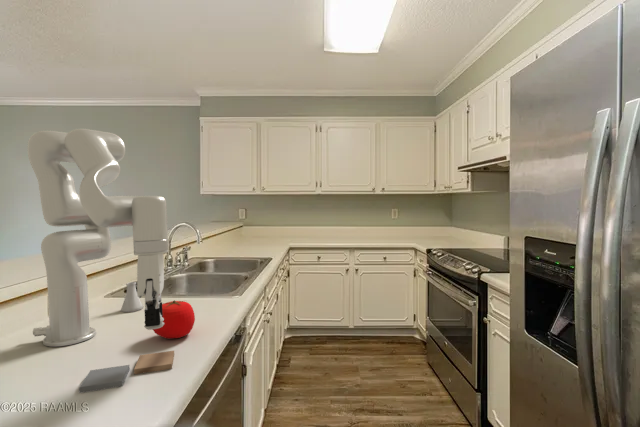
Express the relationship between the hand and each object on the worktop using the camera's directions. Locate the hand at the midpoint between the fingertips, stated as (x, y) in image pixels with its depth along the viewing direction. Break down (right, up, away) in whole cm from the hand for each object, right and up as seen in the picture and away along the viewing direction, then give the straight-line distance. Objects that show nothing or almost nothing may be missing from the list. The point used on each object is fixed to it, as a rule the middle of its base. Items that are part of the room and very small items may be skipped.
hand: (154, 321), depth 87 cm
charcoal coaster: (-7, -11, -7) cm, 15 cm away
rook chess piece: (0, -2, 0) cm, 2 cm away
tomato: (-3, -10, +19) cm, 21 cm away
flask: (-29, -10, +46) cm, 55 cm away
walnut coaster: (0, -11, +1) cm, 11 cm away
